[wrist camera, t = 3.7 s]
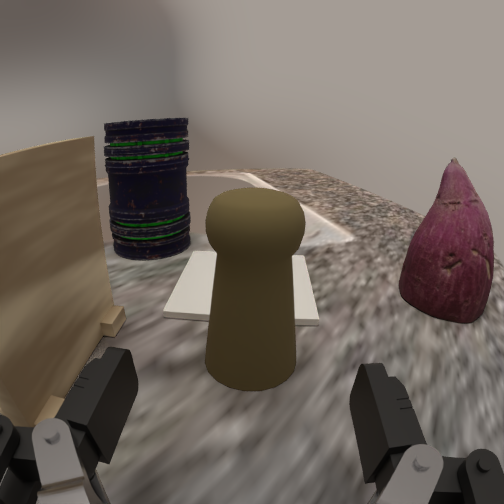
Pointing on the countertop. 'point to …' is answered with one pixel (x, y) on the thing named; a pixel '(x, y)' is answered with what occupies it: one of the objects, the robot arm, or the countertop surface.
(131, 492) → the countertop surface
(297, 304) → the coaster
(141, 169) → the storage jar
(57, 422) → the robot arm
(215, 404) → the countertop surface
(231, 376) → the cork
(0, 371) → the maple board
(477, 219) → the vegetable
